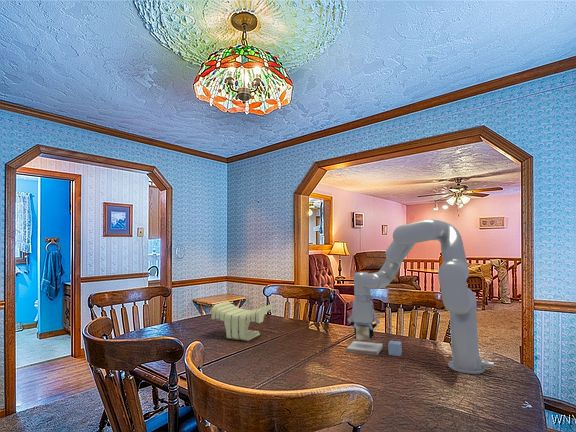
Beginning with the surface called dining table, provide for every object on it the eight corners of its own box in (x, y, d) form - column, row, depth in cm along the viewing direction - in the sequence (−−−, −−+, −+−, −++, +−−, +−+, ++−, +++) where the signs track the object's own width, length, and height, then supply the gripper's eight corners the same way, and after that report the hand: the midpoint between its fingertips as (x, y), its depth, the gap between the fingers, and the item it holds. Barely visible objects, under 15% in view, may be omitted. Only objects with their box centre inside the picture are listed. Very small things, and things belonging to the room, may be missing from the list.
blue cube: (401, 352, 150) (401, 341, 150) (400, 356, 145) (399, 344, 146) (390, 351, 152) (390, 340, 153) (388, 354, 148) (388, 343, 148)
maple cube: (371, 337, 158) (371, 324, 158) (369, 340, 152) (368, 327, 153) (359, 336, 160) (358, 323, 161) (356, 339, 155) (355, 326, 156)
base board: (382, 346, 159) (382, 343, 159) (377, 355, 146) (376, 352, 147) (354, 343, 165) (354, 340, 165) (346, 352, 153) (346, 348, 153)
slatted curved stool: (211, 338, 181) (211, 305, 183) (228, 331, 196) (228, 300, 197) (259, 343, 169) (258, 308, 171) (273, 335, 184) (272, 303, 185)
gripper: (382, 298, 158) (384, 336, 156) (347, 296, 165) (348, 333, 164) (379, 300, 151) (381, 341, 149) (342, 298, 158) (344, 337, 157)
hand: (364, 336), depth 156 cm, fingers closed on maple cube, 6 cm apart
